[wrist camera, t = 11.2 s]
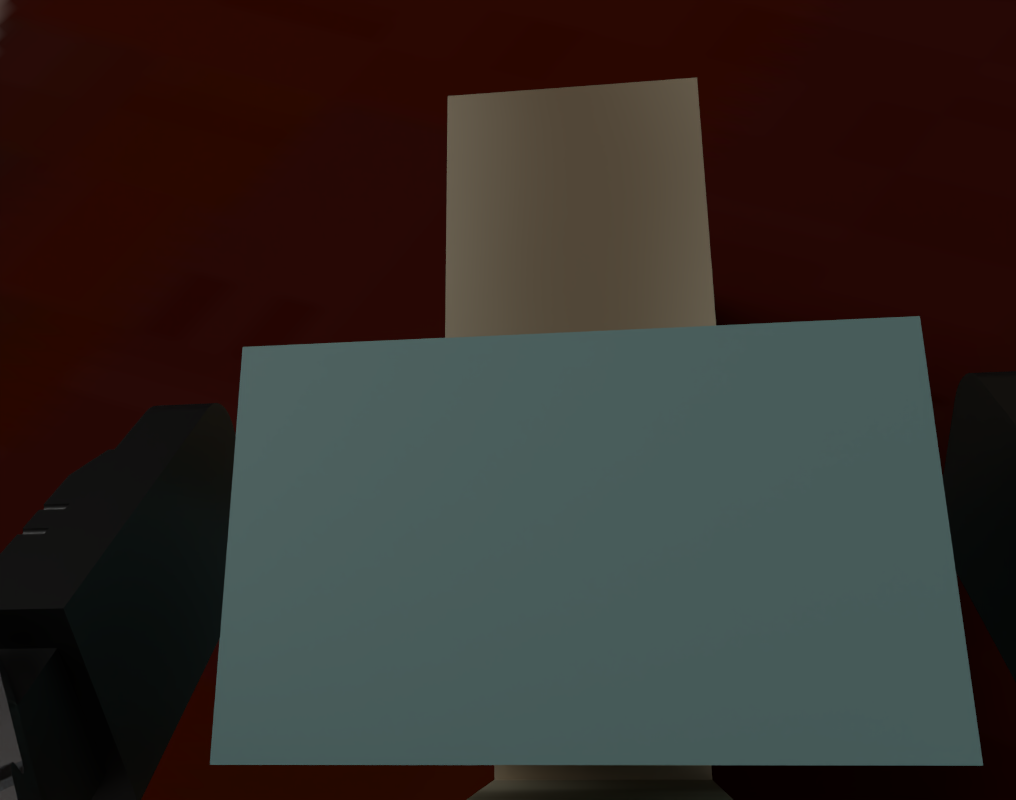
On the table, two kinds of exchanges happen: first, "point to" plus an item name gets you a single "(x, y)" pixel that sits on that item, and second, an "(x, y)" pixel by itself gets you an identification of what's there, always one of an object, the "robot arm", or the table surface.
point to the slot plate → (580, 275)
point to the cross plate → (593, 553)
